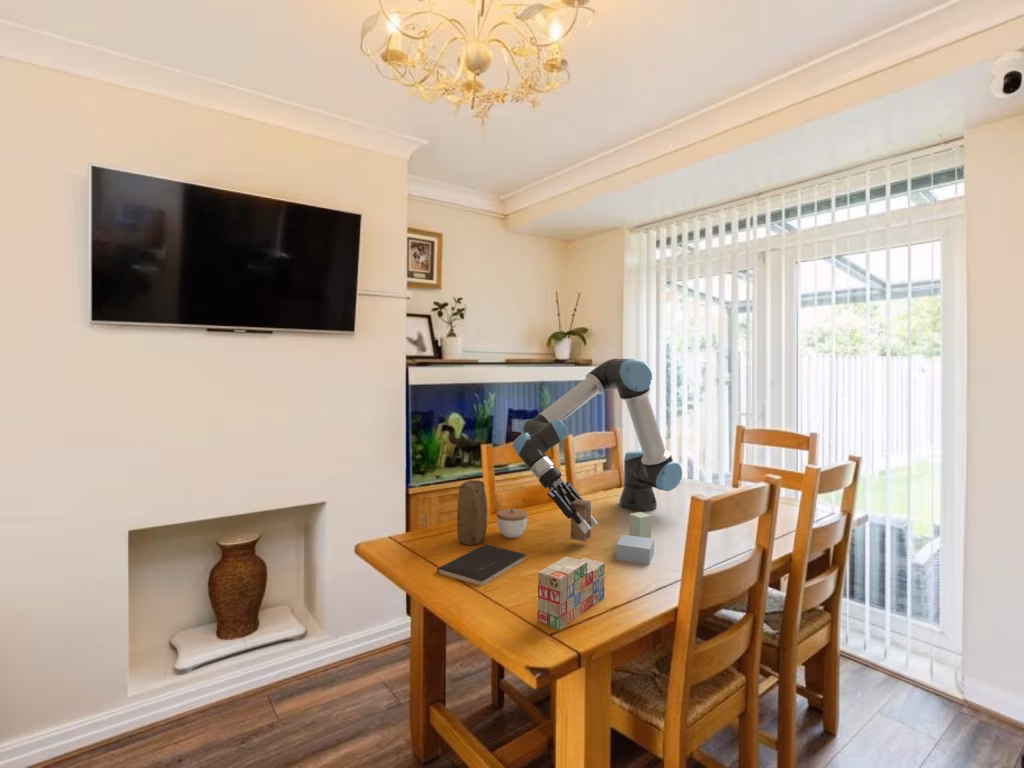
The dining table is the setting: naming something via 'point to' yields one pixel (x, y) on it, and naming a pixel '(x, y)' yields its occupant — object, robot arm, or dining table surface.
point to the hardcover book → (482, 564)
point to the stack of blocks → (569, 590)
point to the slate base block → (635, 549)
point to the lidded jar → (511, 522)
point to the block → (471, 512)
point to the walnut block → (585, 512)
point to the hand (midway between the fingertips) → (591, 528)
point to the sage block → (640, 525)
